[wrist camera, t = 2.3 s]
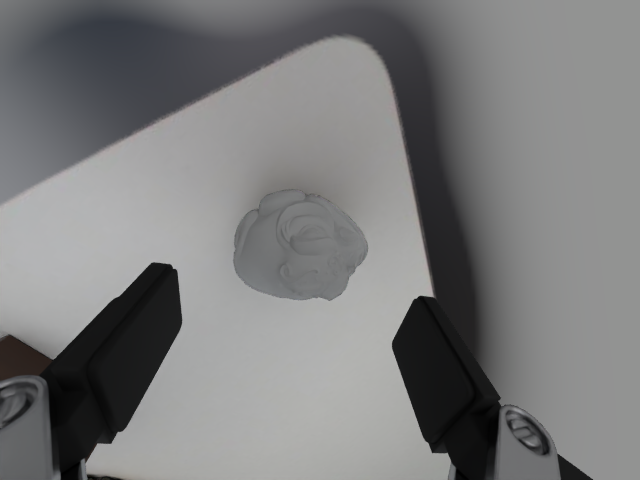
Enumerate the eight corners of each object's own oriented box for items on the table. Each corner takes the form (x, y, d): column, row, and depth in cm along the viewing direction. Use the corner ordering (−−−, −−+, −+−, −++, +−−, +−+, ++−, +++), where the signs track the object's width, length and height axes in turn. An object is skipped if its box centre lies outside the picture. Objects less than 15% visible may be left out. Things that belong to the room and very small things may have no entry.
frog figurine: (362, 233, 17) (393, 307, 11) (274, 268, 18) (259, 353, 12) (328, 150, 14) (346, 190, 8) (226, 199, 15) (176, 265, 9)
